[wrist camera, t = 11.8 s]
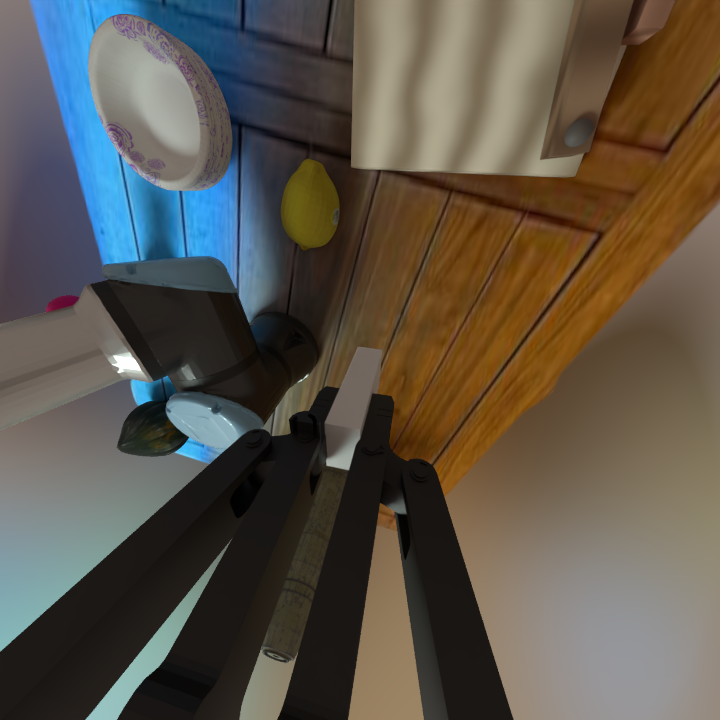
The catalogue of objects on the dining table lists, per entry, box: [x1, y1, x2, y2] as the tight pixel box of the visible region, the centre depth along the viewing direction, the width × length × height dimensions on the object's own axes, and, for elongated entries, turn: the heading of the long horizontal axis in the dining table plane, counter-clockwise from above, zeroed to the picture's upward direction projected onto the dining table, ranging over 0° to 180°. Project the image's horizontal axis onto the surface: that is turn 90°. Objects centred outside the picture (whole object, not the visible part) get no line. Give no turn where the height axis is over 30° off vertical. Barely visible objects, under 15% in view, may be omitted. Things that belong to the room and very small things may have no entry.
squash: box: [117, 401, 189, 457], centre depth 69 cm, size 14×15×15 cm
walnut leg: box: [540, 0, 634, 160], centre depth 23 cm, size 16×3×5 cm, turn 5°
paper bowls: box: [88, 14, 233, 191], centre depth 34 cm, size 15×15×8 cm
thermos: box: [261, 463, 349, 663], centre depth 58 cm, size 9×12×35 cm
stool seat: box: [351, 0, 675, 177], centre depth 27 cm, size 27×16×6 cm, turn 88°
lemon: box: [281, 159, 340, 250], centre depth 36 cm, size 11×8×8 cm
